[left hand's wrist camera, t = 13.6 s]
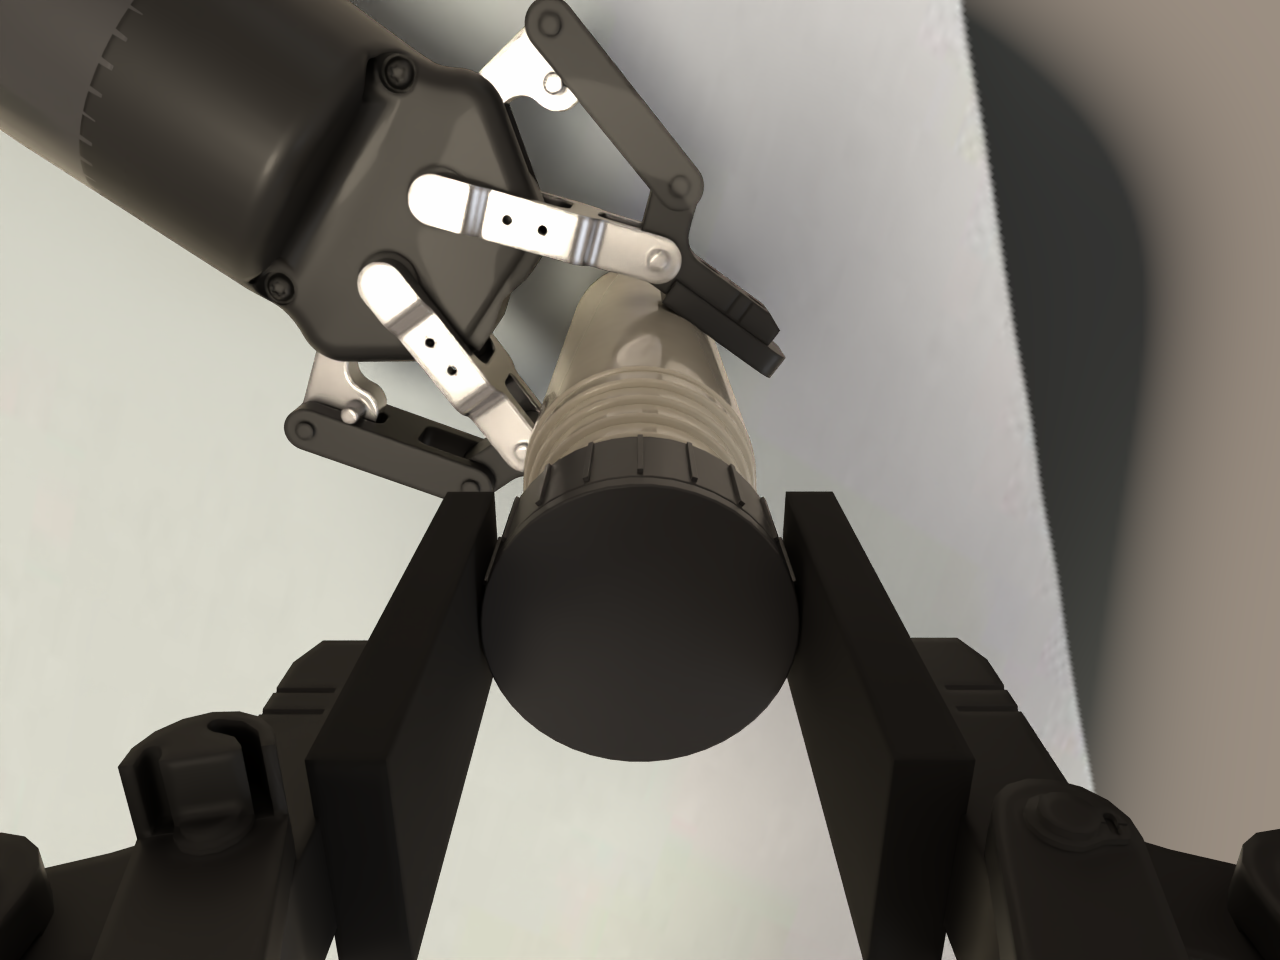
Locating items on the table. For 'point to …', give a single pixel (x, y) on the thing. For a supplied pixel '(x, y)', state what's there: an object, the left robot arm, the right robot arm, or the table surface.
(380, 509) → the table surface
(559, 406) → the bottle
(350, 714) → the left robot arm
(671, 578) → the cap
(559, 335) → the table surface
